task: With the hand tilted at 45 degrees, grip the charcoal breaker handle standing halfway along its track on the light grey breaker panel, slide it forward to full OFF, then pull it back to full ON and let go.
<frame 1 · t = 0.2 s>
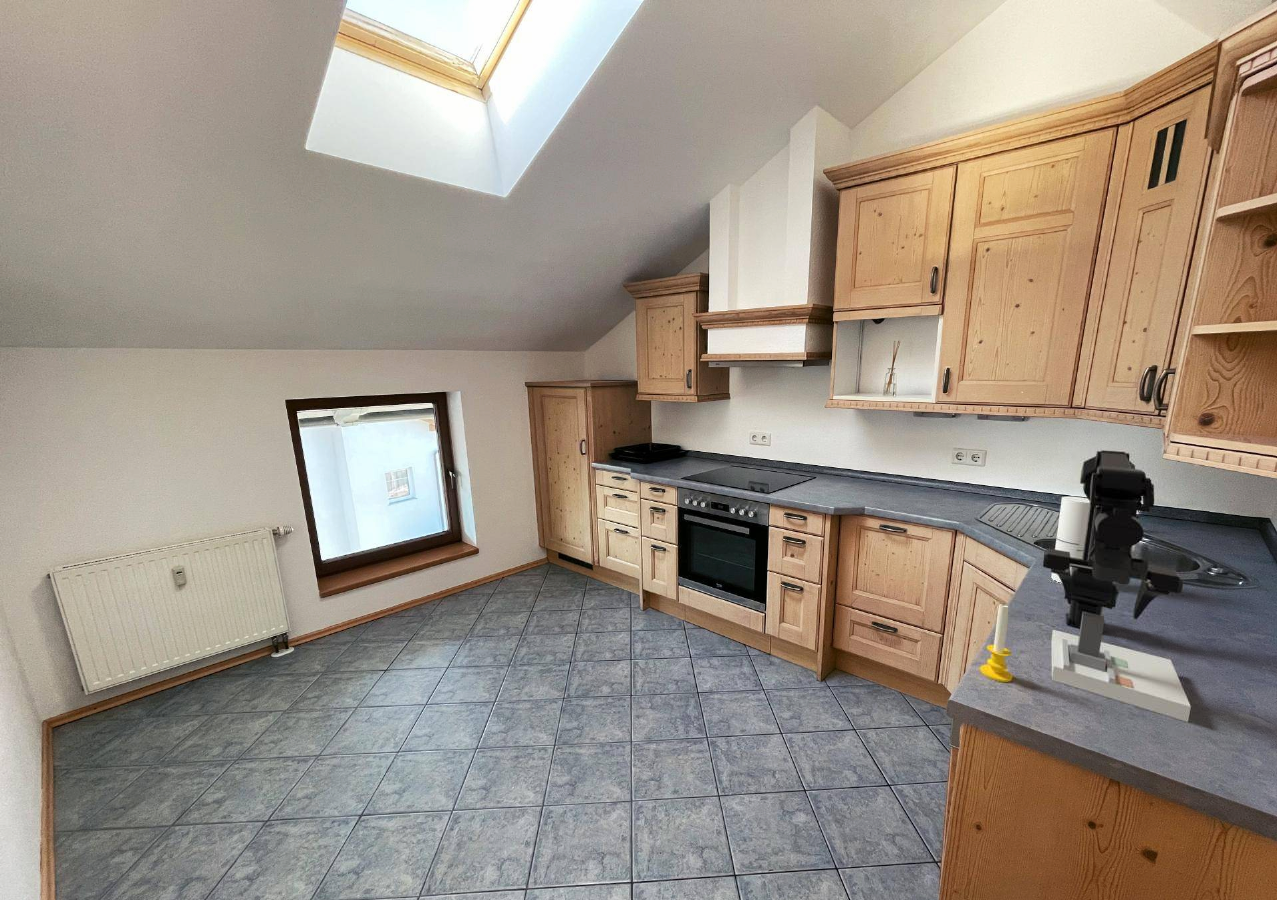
hand: (1101, 610, 92), 15 cm above the worktop, tool pointing down, fingers open, 9 cm apart
breaker panel: (1110, 676, 95), on the worktop
candle: (995, 675, 96), on the worktop
breaker handle: (1089, 638, 94), point 8 cm above the worktop, slide at 4.0 cm
cylindrical container: (1067, 581, 139), on the worktop
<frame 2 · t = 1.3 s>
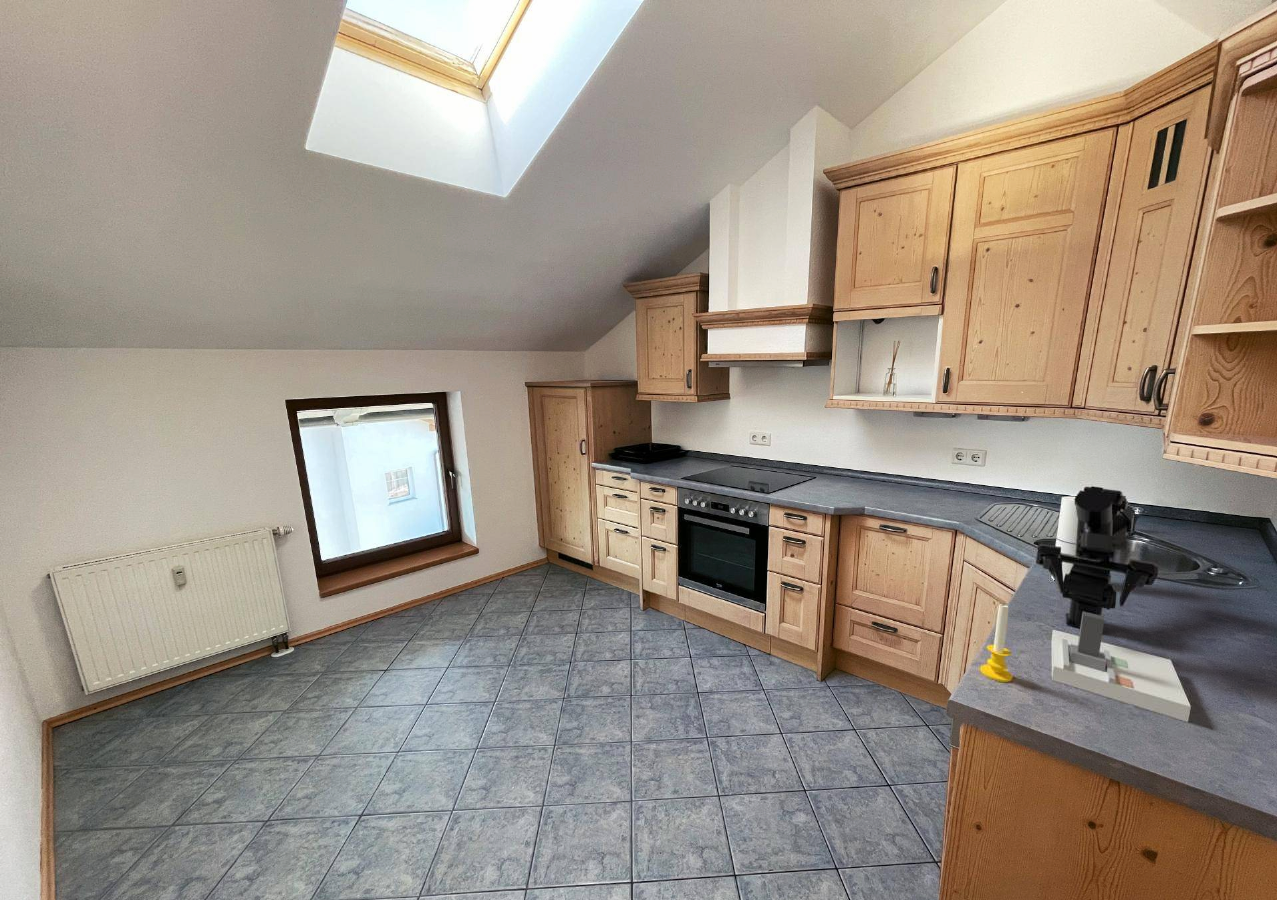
hand: (1090, 599, 99), 13 cm above the worktop, tool tilted 45°, fingers open, 9 cm apart
nothing on the worktop moved.
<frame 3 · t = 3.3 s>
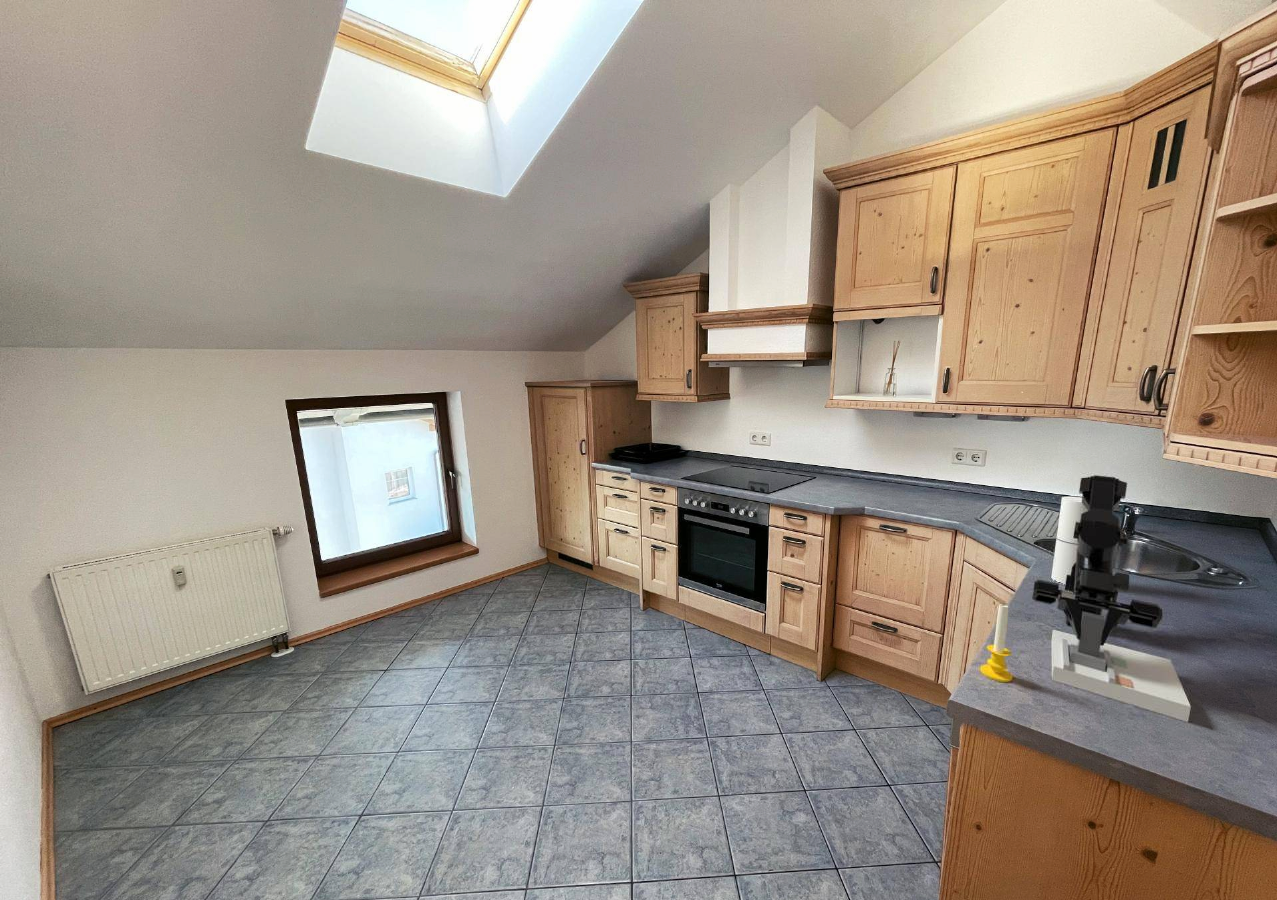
hand: (1090, 641, 93), 8 cm above the worktop, tool tilted 45°, fingers closed on breaker handle, 3 cm apart
breaker handle: (1089, 638, 94), point 8 cm above the worktop, slide at 4.0 cm, touching gripper
everything else where it was.
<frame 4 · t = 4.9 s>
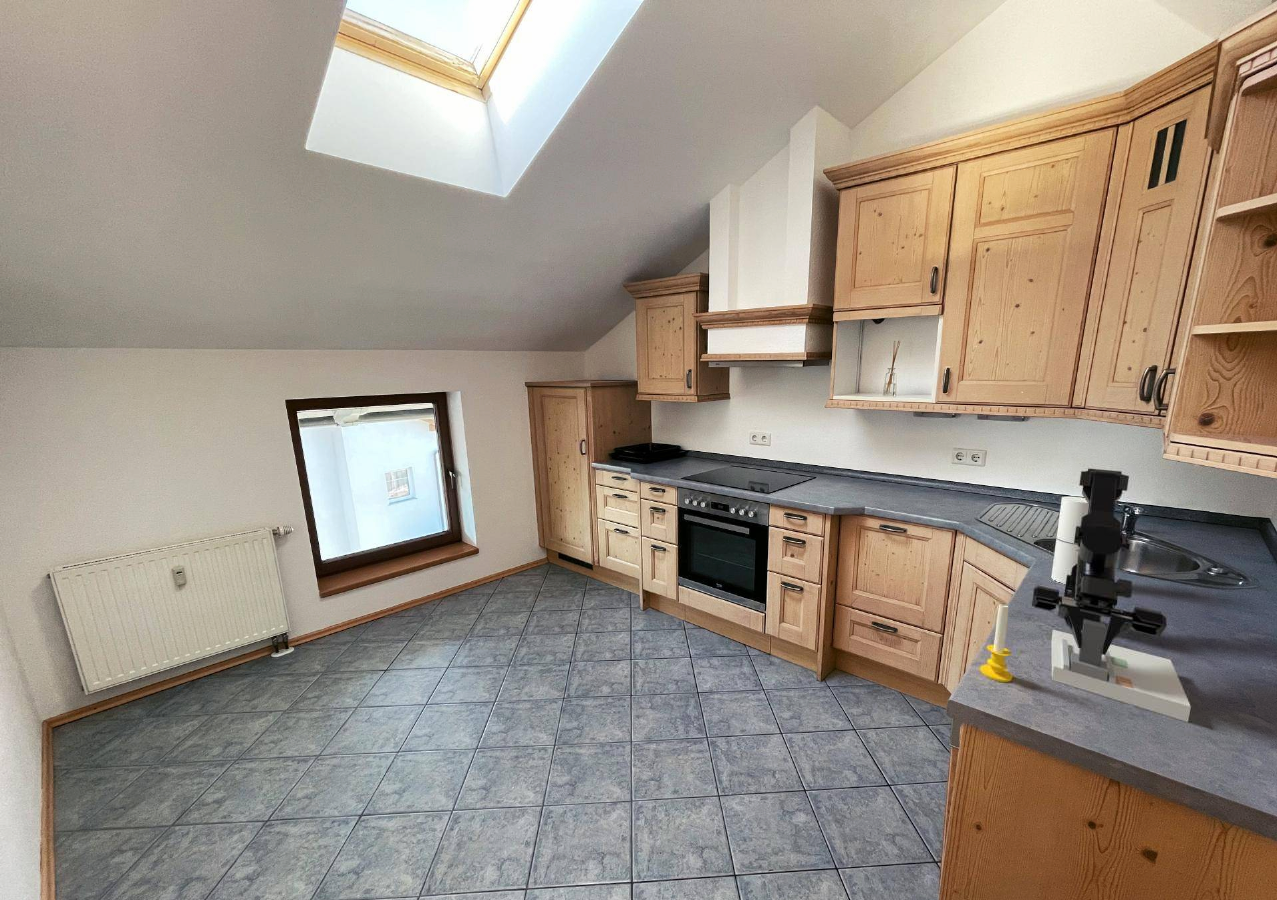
hand: (1091, 650, 90), 8 cm above the worktop, tool tilted 45°, fingers closed on breaker handle, 3 cm apart
breaker handle: (1091, 647, 91), point 8 cm above the worktop, slide at 8.0 cm, touching gripper
everything else where it was.
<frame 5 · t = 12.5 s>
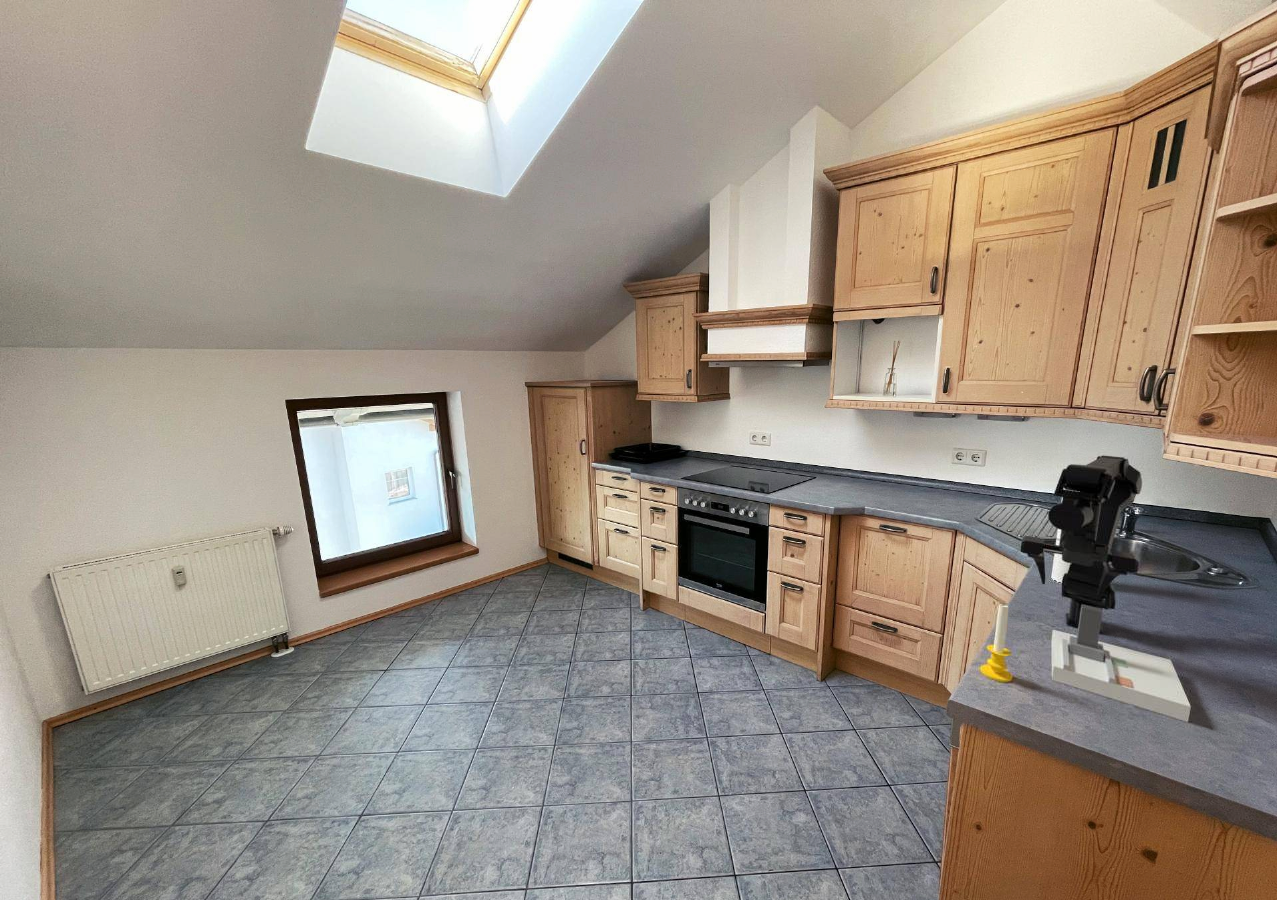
hand: (1070, 589, 105), 13 cm above the worktop, tool pointing down, fingers open, 9 cm apart
breaker handle: (1088, 630, 97), point 8 cm above the worktop, slide at 0.0 cm
everything else where it was.
at the end: breaker handle slide at 0.0 cm; the gripper is holding nothing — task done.
